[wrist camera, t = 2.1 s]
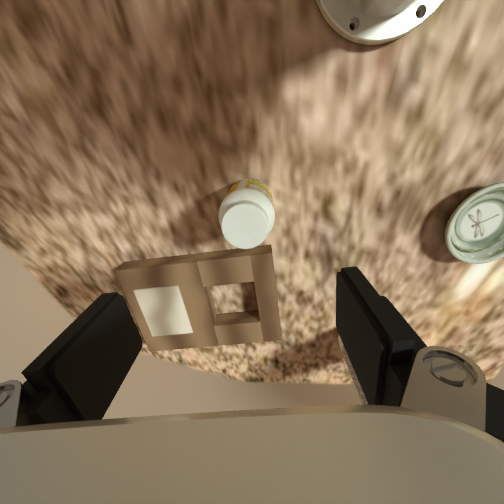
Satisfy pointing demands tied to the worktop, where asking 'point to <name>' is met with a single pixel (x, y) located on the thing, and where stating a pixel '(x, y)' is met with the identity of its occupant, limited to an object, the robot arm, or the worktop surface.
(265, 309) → the rack board
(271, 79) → the worktop surface
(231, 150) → the worktop surface
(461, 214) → the saucer
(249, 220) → the supplement bottle
